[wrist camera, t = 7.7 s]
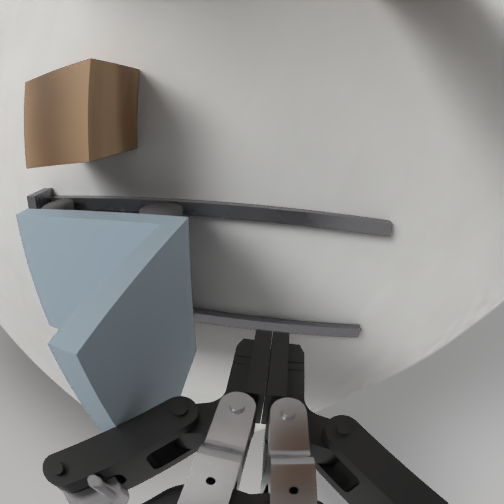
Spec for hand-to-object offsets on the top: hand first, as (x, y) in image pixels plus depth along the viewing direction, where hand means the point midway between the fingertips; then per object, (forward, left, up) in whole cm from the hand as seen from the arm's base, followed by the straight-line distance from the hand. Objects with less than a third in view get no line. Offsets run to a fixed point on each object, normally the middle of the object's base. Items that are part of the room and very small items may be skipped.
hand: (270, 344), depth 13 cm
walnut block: (+11, -10, -6) cm, 16 cm away
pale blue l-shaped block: (+10, 0, -6) cm, 12 cm away
